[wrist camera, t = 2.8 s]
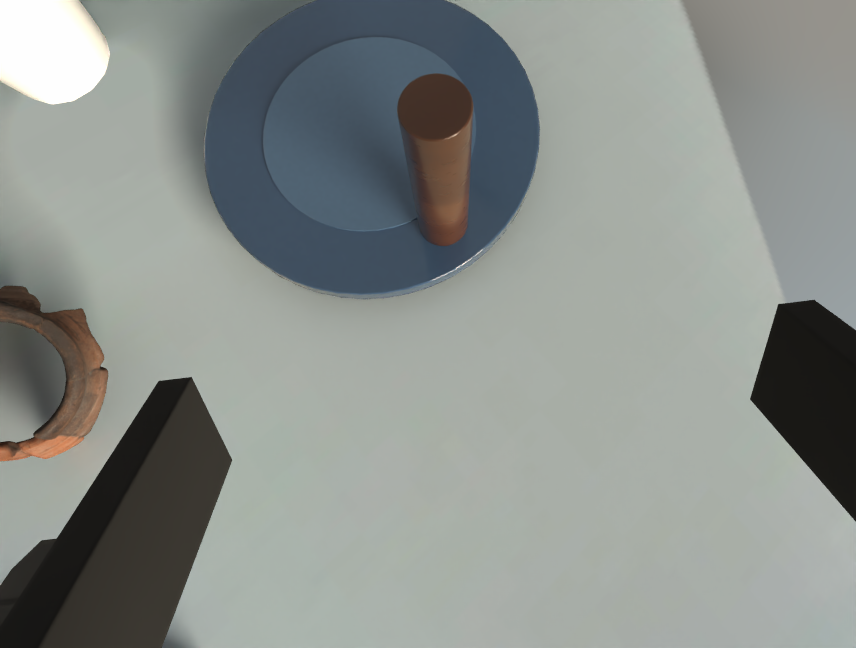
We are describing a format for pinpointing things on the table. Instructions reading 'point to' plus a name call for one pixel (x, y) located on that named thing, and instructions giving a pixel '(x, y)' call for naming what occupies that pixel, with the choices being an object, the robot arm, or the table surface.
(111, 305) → the table surface
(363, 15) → the blue disc with rod
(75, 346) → the broken brown clay pot
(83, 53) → the foam cup
